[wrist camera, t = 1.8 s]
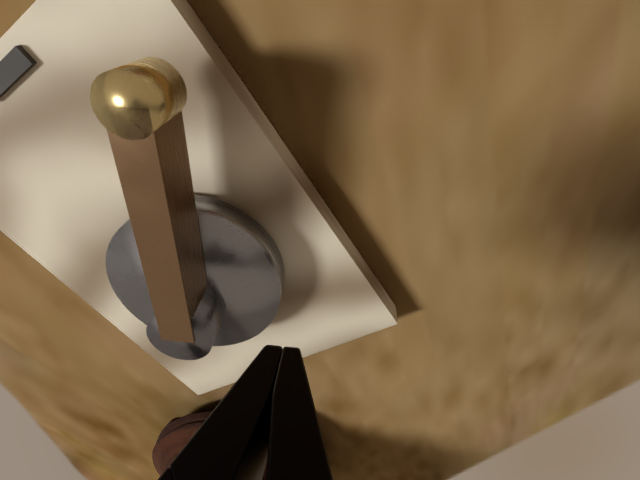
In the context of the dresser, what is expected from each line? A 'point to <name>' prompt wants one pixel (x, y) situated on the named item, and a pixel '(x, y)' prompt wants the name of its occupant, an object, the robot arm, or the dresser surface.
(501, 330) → the dresser surface
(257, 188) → the ash stand
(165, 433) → the brown tall stacked figurine
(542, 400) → the dresser surface
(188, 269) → the cam lever
